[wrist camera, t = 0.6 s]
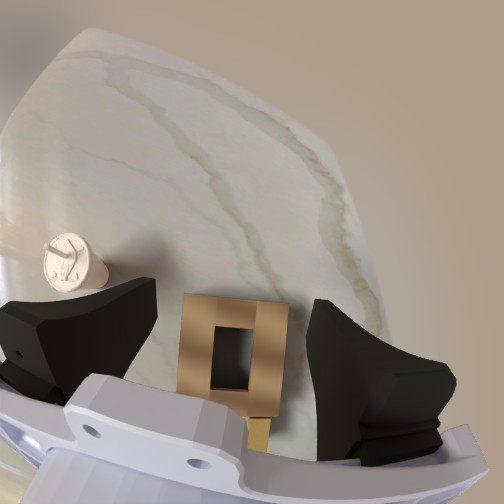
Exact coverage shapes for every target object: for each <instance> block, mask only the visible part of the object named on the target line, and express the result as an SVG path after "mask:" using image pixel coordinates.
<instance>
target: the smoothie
mask: <svg viewBox="0 0 504 504" xmlns="http://www.w3.org/2000/svg"><path fill="white" fill-rule="evenodd" d="M44 249H46V250H47V251H46V253H45V257H44V272H45V276H46V278H47V280H48V282H49V283H50V285H51V286H52V287H54V288H55V289H57V290H59V291H61V292H65V293H73V292H75V291H78V290H80V289H97V288H101V287H103V286H104V285H105V284H106V283H107V281H108V278H109V272H108V269H107V267H106V265H105V264H104V263H103V262H102V261H101V260H100V259H99V258H98V257H97V256H96V255H95V254H94V253H93V251H92V249H91V247H90V245H89V243H88V242H87V241H86V240H85V239H84V238H82V237H80V236H79V235H77V234H74V233H64V234H61V235H59V236H58V237H56V238H55V239H54V240H53V241H52V242H51V243H50V245H49V244H47V243H46V244H45V245H44Z"/></svg>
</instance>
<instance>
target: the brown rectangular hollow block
mask: <svg viewBox="0 0 504 504" xmlns="http://www.w3.org/2000/svg"><path fill="white" fill-rule="evenodd" d="M288 309H289V303H278V302H266V301H254V300H244V299H234V298H224V297H215V296H206V295H197V294H189V293H184V299H183V309H182V319H181V330H180V342H179V356H178V371H177V391H176V393H178V394H183V395H188V396H193V397H198V398H204V399H207V400H211V401H214V402H217V403H220V404H223V405H226V406H228V407H229V408H231V409H232V410H233V411H235V412H236V413H237V414H239V415H240V416H241V417H278V416H279V407H280V398H281V389H282V379H283V369H284V359H285V347H286V335H287V323H288ZM215 326H223V327H234V328H246V329H253V339H252V351H251V362H250V374H249V385H248V390H241V389H224V388H211V387H210V380H211V367H212V354H213V341H214V330H215Z"/></svg>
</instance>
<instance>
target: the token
mask: <svg viewBox="0 0 504 504" xmlns="http://www.w3.org/2000/svg"><path fill="white" fill-rule="evenodd" d="M244 419H245V421H246V424H247V427H248V430H249V435H248V445H247V448H248V449H252V450H256V451H260V452H267V446H268V438H269V430H270V421H271V418H270V417H244Z"/></svg>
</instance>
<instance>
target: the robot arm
mask: <svg viewBox="0 0 504 504" xmlns="http://www.w3.org/2000/svg"><path fill="white" fill-rule="evenodd" d="M157 317H158V315H157V299H156V279H154V278H148V277H141V278H137V279H134V280H131V281H128V282H126V283H123V284H120V285H117V286H115V287H112V288H109V289H106V290H103V291H100V292H97V293H94V294H91V295H87V296H83V297H79V298H74V299H68V300H61V301H54V302H19V301H10V302H8V303H6V304H5V305H4V306H2V307H1V308H0V345H1V347H2V350H3V352H4V354H5V357H6V360H5V361H4V362H3V363H2V362H1V360H0V439H1V440H2V441H3V442H4V443H5V444H7V445H8V446H9V447H10V448H11V449H12V450H14V451H15V452H16V453H17V454H18V455H20V456H21V457H22V458H23V459H25V460H26V461H27V462H28V463H30V464H31V465H32V466H34V467H35V468H36V469H38V471H37V472H36V474H35V476H34V478H33V479H32V481H31V483H30V485H29V487H28V488H27V490H26V492H25V494H24V496H23V498H22V499H21V501H20V503H19V504H446V503H448V502H450V501H451V500H453V499H454V498H456V497H457V496H458V495H460V494H461V493H462V492H464V491H465V490H467V489H468V488H469V487H470V486H472V485H473V484H474V483H475V482H477V481H478V480H479V479H480V478H481V477H483V476H484V475H485V474H486V473H487V472H488V471H489V469H490V468H489V466H488V464H487V461H486V459H485V457H484V455H483V453H482V451H481V449H480V447H479V445H478V443H477V441H476V439H475V437H474V435H473V433H472V431H471V430H470V428H469V426H468V424H464V425H461V426H458V427H455V428H451V429H449V430H446V431H444V432H443V433H441V434H439V432H438V430H437V428H438V427H439V426H440V421H439V419H438V415H439V414H440V413H441V411H442V410H443V409H444V407H445V406H446V404H447V403H448V401H449V400H450V398H451V397H452V395H453V393H454V391H455V387H456V378H455V376H454V375H453V373H452V372H451V370H450V369H449V367H448V366H447V364H445V363H441V362H437V361H433V360H428V359H424V358H421V357H418V356H415V355H412V354H409V353H407V352H405V351H402V350H400V349H398V348H395V347H393V346H391V345H389V344H387V343H385V342H384V341H382V340H380V339H379V338H377V337H375V336H374V335H372V334H370V333H369V332H368V331H366V330H365V329H363V328H362V327H361V326H359V325H358V324H357V323H355V322H354V321H353V320H352V319H351V318H349V317H348V316H347V315H346V314H345V313H343V312H342V311H341V310H340V309H339V308H338V307H337V306H335V305H334V304H333V303H332V302H330V301H329V300H322V299H315V300H314V305H313V309H312V314H311V318H310V322H309V326H308V330H307V334H306V348H307V357H308V362H309V367H310V372H311V377H312V382H313V387H314V392H315V399H316V413H317V462H311V461H304V460H298V459H293V458H287V457H282V456H278V455H273V454H268V453H264V452H260V451H256V450H252V449H248V448H247V445H248V435H249V430H248V427H247V424H246V421H245V419H244V418H243V417H241V416H240V415H239V414H237V413H236V412H235V411H233V410H232V409H231V408H229V407H228V406H226V405H223V404H220V403H217V402H214V401H211V400H207V399H204V398H198V397H193V396H188V395H183V394H178V393H174V392H169V391H165V390H161V389H157V388H153V387H149V386H145V385H141V384H138V383H134V382H131V381H127V380H124V379H123V378H124V376H125V374H126V372H127V370H128V368H129V366H130V364H131V363H132V361H133V360H134V358H135V357H136V355H137V353H138V352H139V350H140V349H141V347H142V346H143V344H144V343H145V341H146V339H147V338H148V336H149V335H150V333H151V331H152V329H153V327H154V324H155V322H156V320H157Z"/></svg>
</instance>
